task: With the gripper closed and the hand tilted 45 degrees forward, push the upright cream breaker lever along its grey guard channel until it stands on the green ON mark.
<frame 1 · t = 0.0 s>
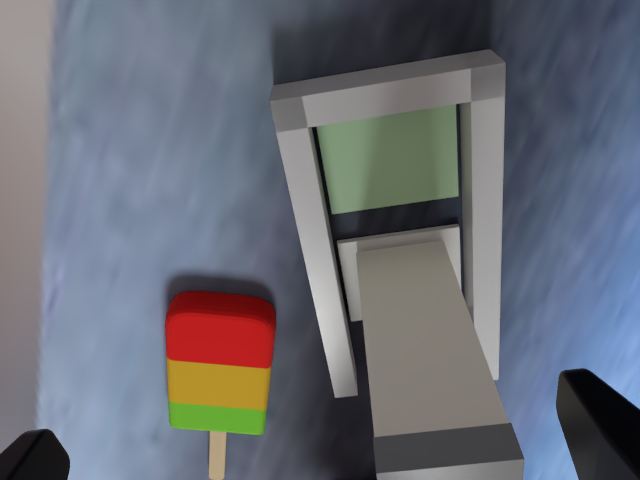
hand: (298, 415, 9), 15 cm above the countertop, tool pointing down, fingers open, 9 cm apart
popsicle: (222, 385, 31), on the countertop
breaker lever: (421, 368, 21), point 6 cm above the countertop, slide at 0.0 cm
guard channel: (397, 239, 25), on the countertop
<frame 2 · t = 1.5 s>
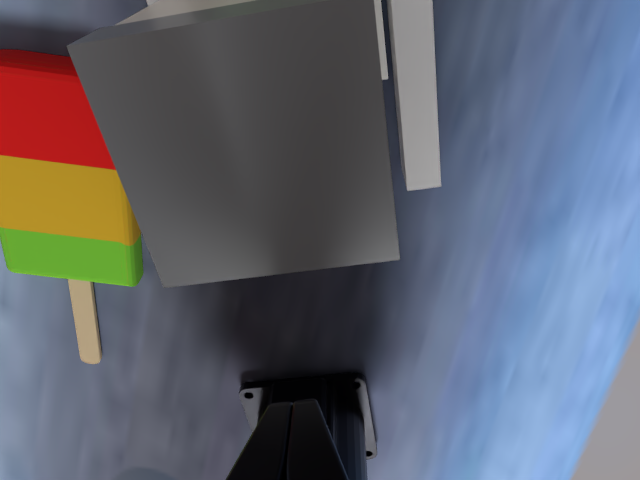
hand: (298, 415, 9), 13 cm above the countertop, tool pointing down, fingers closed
popsicle: (83, 223, 23), on the countertop
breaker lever: (282, 66, 13), point 6 cm above the countertop, slide at 0.0 cm
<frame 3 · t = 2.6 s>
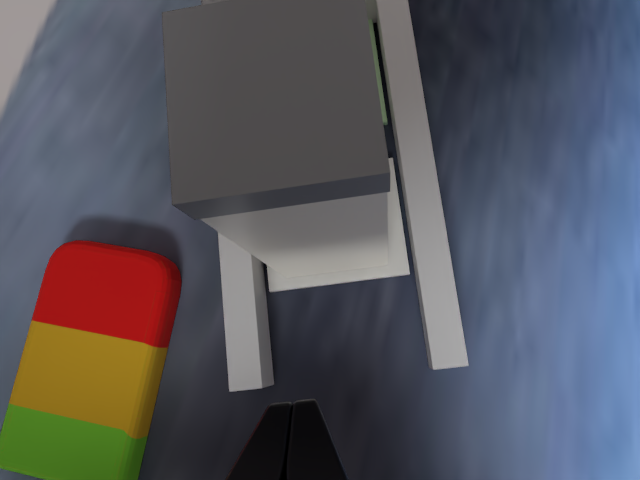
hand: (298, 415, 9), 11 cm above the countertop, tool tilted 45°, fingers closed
popsicle: (92, 427, 22), on the countertop
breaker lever: (310, 178, 16), point 6 cm above the countertop, slide at 0.0 cm
guard channel: (326, 179, 22), on the countertop
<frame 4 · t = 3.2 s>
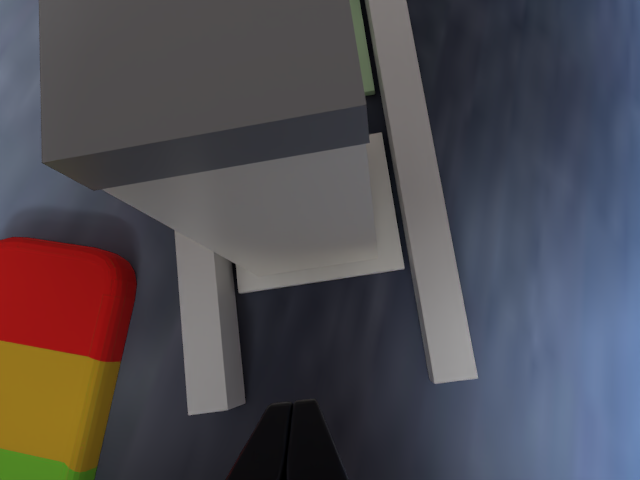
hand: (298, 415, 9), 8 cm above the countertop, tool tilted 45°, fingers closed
popsicle: (34, 457, 19), on the countertop
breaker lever: (275, 147, 12), point 6 cm above the countertop, slide at 0.0 cm
guard channel: (305, 159, 19), on the countertop
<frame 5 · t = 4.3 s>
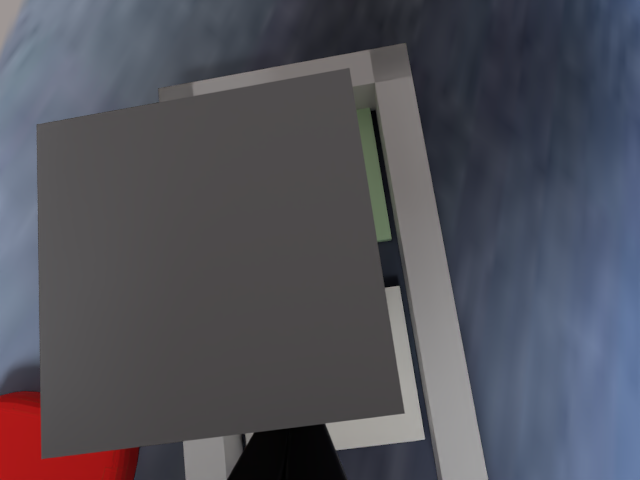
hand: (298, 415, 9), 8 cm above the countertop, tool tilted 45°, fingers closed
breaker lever: (286, 300, 12), point 6 cm above the countertop, slide at 1.8 cm, touching gripper
guard channel: (317, 310, 18), on the countertop
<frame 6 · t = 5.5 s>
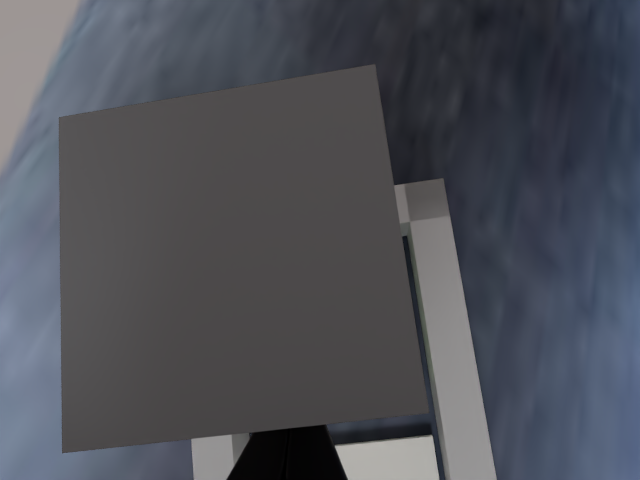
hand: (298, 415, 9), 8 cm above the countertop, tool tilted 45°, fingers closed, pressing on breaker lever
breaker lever: (299, 297, 12), point 6 cm above the countertop, slide at 6.5 cm, touching gripper
guard channel: (344, 457, 17), on the countertop
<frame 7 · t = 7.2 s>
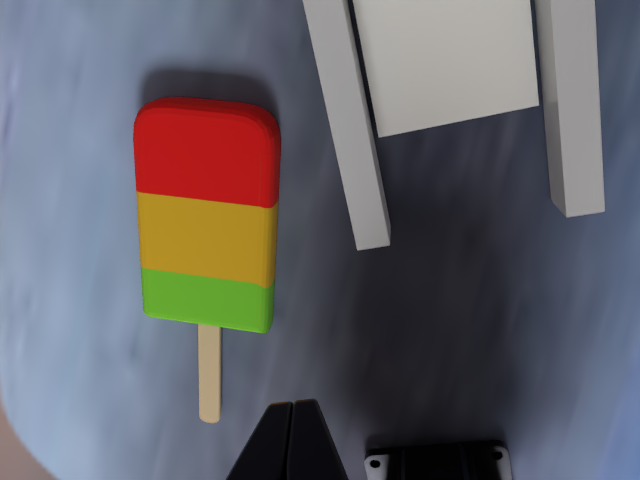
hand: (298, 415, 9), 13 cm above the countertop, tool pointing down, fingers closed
popsicle: (217, 270, 23), on the countertop
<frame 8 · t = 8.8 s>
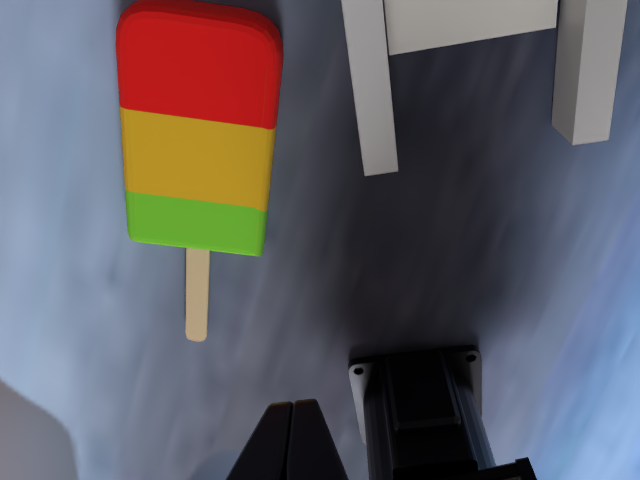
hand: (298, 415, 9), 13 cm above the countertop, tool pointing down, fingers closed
popsicle: (204, 191, 22), on the countertop
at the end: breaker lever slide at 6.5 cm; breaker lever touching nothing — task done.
